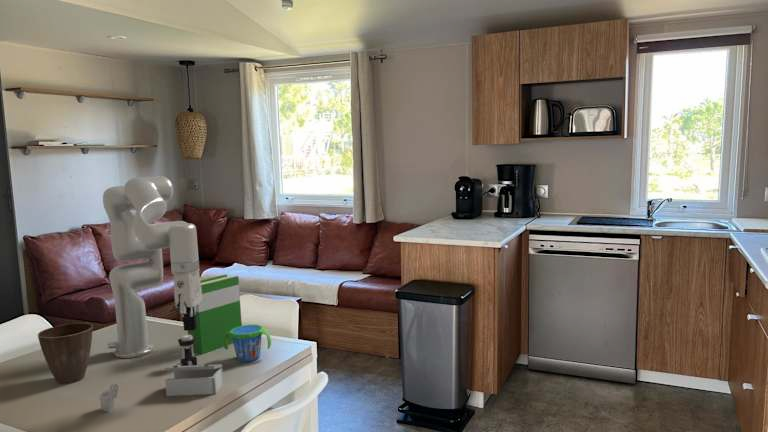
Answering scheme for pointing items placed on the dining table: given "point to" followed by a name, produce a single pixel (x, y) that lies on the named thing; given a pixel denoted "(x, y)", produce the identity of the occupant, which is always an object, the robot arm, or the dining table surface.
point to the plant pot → (67, 350)
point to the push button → (187, 351)
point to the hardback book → (216, 313)
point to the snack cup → (247, 341)
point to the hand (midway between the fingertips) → (190, 329)
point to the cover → (193, 367)
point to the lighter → (109, 398)
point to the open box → (194, 382)
